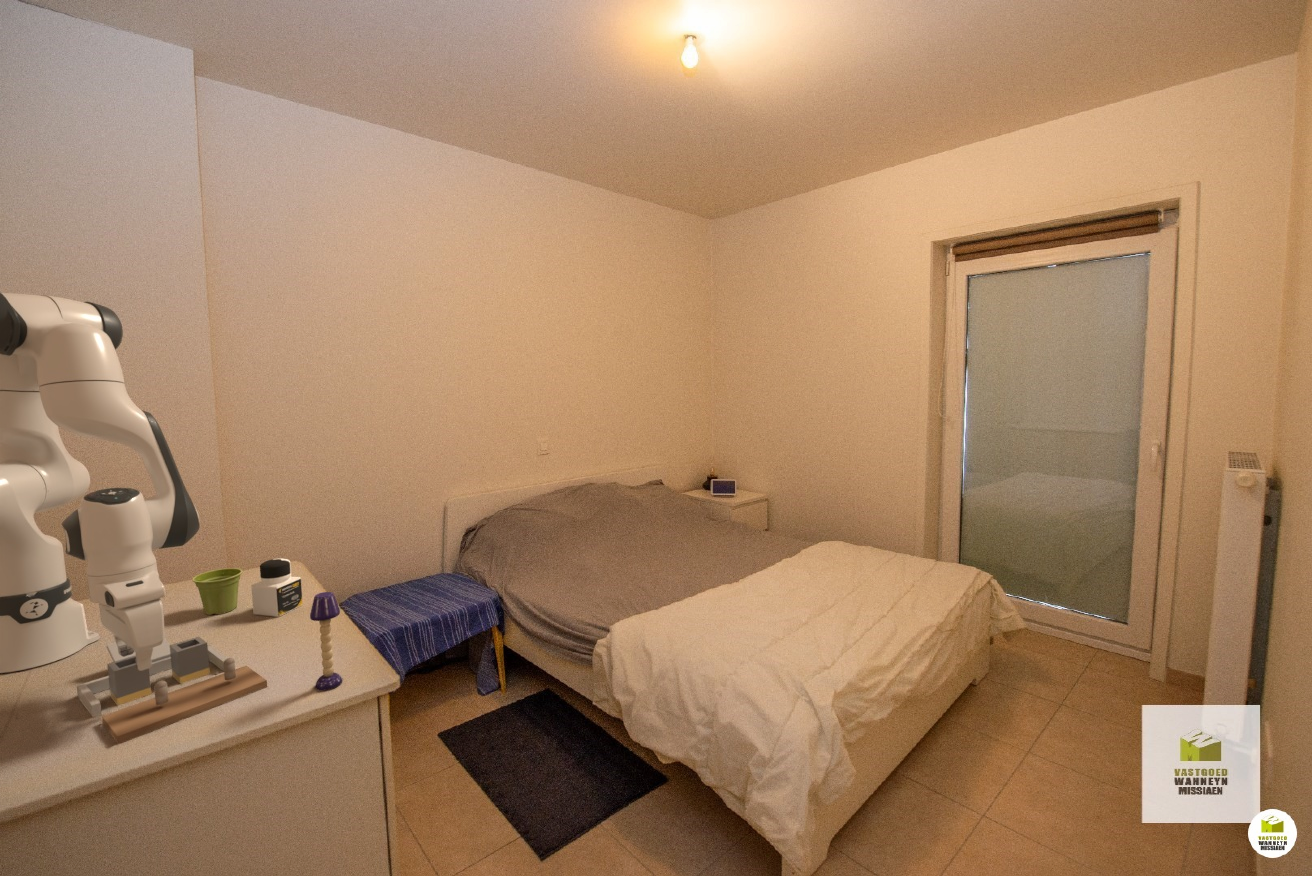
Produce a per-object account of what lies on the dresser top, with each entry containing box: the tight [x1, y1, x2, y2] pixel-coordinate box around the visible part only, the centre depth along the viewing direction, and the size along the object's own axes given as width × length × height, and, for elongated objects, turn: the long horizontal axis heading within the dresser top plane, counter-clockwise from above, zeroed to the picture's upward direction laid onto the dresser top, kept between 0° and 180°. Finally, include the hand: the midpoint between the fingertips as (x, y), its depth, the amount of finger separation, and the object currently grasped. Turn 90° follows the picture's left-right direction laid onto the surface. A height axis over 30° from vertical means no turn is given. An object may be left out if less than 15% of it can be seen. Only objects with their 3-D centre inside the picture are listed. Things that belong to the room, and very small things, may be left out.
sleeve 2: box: [170, 636, 211, 684], centre depth 108 cm, size 4×4×6 cm
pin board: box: [101, 657, 268, 745], centre depth 98 cm, size 9×20×6 cm, turn 144°
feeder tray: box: [76, 634, 228, 718], centre depth 107 cm, size 18×19×5 cm
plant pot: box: [192, 567, 243, 615], centre depth 137 cm, size 9×9×9 cm
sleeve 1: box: [106, 655, 152, 706], centre depth 101 cm, size 4×4×6 cm
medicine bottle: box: [251, 558, 303, 618], centre depth 137 cm, size 7×7×12 cm
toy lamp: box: [309, 591, 343, 692], centre depth 104 cm, size 5×5×17 cm
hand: (135, 661), depth 101 cm, fingers open, 8 cm apart
